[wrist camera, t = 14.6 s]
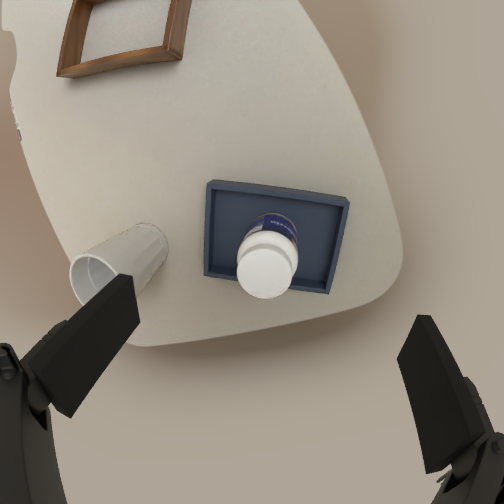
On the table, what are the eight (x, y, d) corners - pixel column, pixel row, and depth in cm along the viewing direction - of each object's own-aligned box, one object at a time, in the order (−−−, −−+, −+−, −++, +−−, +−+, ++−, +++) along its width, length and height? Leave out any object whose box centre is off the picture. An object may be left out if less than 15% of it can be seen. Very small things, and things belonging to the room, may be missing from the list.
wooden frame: (197, -25, 20) (187, -39, 16) (182, 59, 26) (168, 51, 22) (90, 3, 22) (74, -4, 18) (74, 78, 27) (55, 76, 24)
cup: (114, 240, 36) (60, 279, 26) (145, 205, 34) (87, 237, 23) (150, 281, 38) (107, 331, 27) (185, 250, 35) (142, 300, 24)
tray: (345, 197, 30) (350, 202, 27) (327, 283, 34) (329, 294, 32) (213, 179, 31) (206, 183, 29) (209, 266, 36) (203, 275, 33)
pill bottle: (307, 237, 32) (312, 278, 23) (272, 266, 34) (263, 315, 25) (273, 201, 31) (264, 229, 22) (238, 233, 33) (216, 273, 24)
